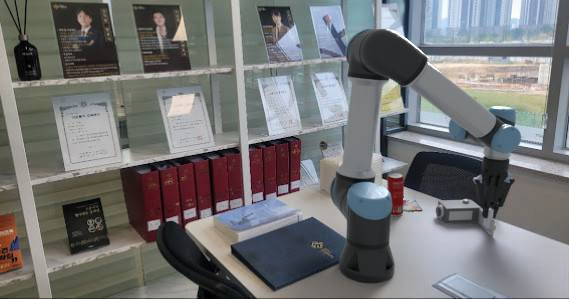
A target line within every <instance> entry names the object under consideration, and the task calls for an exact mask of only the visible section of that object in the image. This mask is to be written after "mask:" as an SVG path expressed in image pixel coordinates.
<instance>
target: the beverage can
mask: <svg viewBox="0 0 569 299" xmlns="http://www.w3.org/2000/svg"><path fill="white" fill-rule="evenodd" d="M386 180H387V181H386V183H387V184H386V186H387V188H386V189H387V190H388V191H389V192H390V194H391V198H392V210H391V217H392V216H393V217H398V216H402V215H403V213H404V211H403V198H404V196H405V195H404V194H405V193H404V189H405V188H404V187H405V178H404V175H403V174H402V173H399V172H390V173H389V174H388V176H387V178H386Z"/></svg>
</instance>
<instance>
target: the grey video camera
mask: <svg viewBox="0 0 569 299" xmlns="http://www.w3.org/2000/svg"><path fill="white" fill-rule="evenodd" d="M479 208H482V207H480V206H479V205H478V204H477V202H475V201H473V200H472V199H469V198H464V199H448V200H447V199H446V200H443V199H442V200H438V201H437V206H436V207H435V214H436V217H438V219H441V220H442V221H443V223H445V224H468V223H469V224H471V223H472V224H473V222H477V223H478V217H479Z"/></svg>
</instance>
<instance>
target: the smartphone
mask: <svg viewBox="0 0 569 299" xmlns="http://www.w3.org/2000/svg"><path fill="white" fill-rule="evenodd" d="M417 203H418V202H417V200H416V199H415V200H414V201H412V202H409V200H407V201H406V200H403V212H423V208H421V206H420V205H419V203H418V204H417Z"/></svg>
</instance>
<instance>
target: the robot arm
mask: <svg viewBox="0 0 569 299" xmlns="http://www.w3.org/2000/svg"><path fill="white" fill-rule="evenodd" d="M345 59H346V62H347V65H348V68H347V76H346V78H348V80H349V82H350V83H351V88H350V94H349V95H350V96H349V104H348V113H347V121H346V130H345V138H344V147H343V156H342V163H341V164H340V165H339V166H337V167H336V170H335V176H334V177H333V178H332V180H331V183H330V184H329V195H330V197H331V200H332V201H331V202H332V203H333V205H334V206H335V207H336V208H337V209H338V210H339V212H340V214H342V216H343V217H344V219H345V220H346V237H345V238H346V241H345V244H344V247H343V249H342V251H341V253H340V256H339V260H338V261H339V266H338V268H339V270H340V272H341V273H342V274H343V276H346V277H347V278H349V279H350V280H351V279H352V280H354V281H357V282H360V283H371V284H373V283H381V282H384V281H387V280H389V279H391V278H392V277H393V275H395V274H394V273H395V268H396V267H395V260H394V256H393V252H392V249H391V245H390V237H391V236H390V235H391V222H392V221H391V220H392V215H391V210H392V198H391V194H390V192H389V191H388V190H387V188H386V187H385V186H384V185H382V184H377V183H375V182H376V175H377V174H376V172H375V171H374V170H373V168H372V165H373V164H372V163H373V159H374V158H373V157H374V151H375V145H376V144H375V143H376V135H377V129H378V122H379V116H380V108H381V100H382V92H383V87H384V86H385V85H386V84H388V83H389V81H390V80H391V81H393V82H394V83H396V84H398V85H399V86H400V87H402V88H405V87H408V88H410V89H412V91H414V92H415V93H417V94H418V95H419V96H421V97H422V98H423V99H424V100H425V101H427V102H428V103H429V104H431V105H432V106H433V107H435V108H436V109H437V110H439V111H440V112H441V113H443V115H445V116H447V117H448V118H449V119H450V120H449V122H448V132H449V135H450V137H451V138H452V139H453V140H456V141H466V140H467V141H470V142H473V143H475V144H479V145H481V146H483V157H482V162H481V171H480V172H479V175H477V176H476V177H475V176H474V177H471V180H472V182H473V183H474V189H475V190H474V191H475V196H476V197H475V198H476V204H477V205H479V206H480V207H481V208H482V209H483V211H482V216H483V217H484V222H483V226H485V227H486V228H487V229H491V222H492V219H493V220H494V219H495V217H496V213H497V211H498V210H499V208H503V206H504V204H505V202H506V199H507V197H508V195H509V192H510V189H511V188H512V185H513V184H514V183H515V182H516V180H515V179H514V178H513V177H511V176H510V175H509V171H508V170H509V167H510V157H511V153H512V152H514V151H516V149H517V148H518V147H519V146H520V144H521V141H522V140H521V139H522V135H521V132H520V130H519V129H518V128H517V127H516V126H515V125H516V118H517V111H516V109H515V108H513V107H509V106H500V105H496V106H495V105H494V106H491V107H489V108H488V109H487V107H485V106H483V105H482V104H481V103H480V102H479V101H477V100H476V99H474V97H472V96H471V95H470V94H468V93H467V92H466V91H464V90H463V89H462V88H461V87H460V86H458V85H457V84H456V83H455V82H453V81H452V80H451V79H449V78H448V77H447V76H446V75H444V73H442V72H441V71H440V70H438V69H437V68H436V67H435V66H433V65H432V64H431V63H429V57H428V55H427V54H425V53H424V52H423V51H422V50H421V49H419V48H418V47H417V46H416V45H415V44H413V43H412V42H411V41H410V40H408V38H406V37H405V36H404V35H403V34H400V33H399V32H398V31H396V30H392V29H390V28H379V29H378V28H368V29H364V30H361V31H359V32H356V33H355V34H354V35H353V36H351V37H350V39H349V40H348V42H347V44H346V47H345ZM482 183H483V185H482ZM483 186H484V189H483Z"/></svg>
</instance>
